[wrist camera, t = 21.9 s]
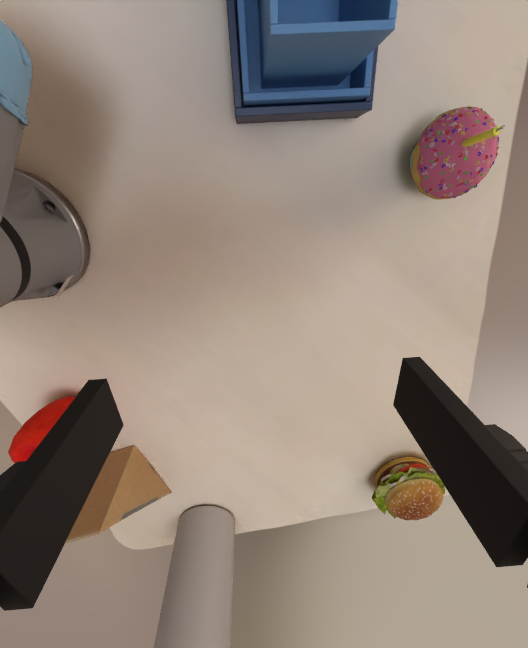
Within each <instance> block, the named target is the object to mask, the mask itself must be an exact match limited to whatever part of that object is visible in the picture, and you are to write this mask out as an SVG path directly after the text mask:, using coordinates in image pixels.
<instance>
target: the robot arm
mask: <svg viewBox="0 0 528 648" xmlns="http://www.w3.org/2000/svg"><path fill="white" fill-rule="evenodd" d="M32 76H33V68H32V62H31V59H30V56H29V54H28V51H27V50H26V48H25V46H24V44H23V43H22V41H21V40H20V39H19V37H18V36H17V35H16V34H15V33H14V32H13V30H12V29H10V28H9V27H8V26H7V25H6V24H5V23H4V22H3V21H1V20H0V307H2V306H4V305H5V304H7V303H9V302H11V301H15V300H25V299H34V298H44V297H50V296H53V295H56V294H57V295H56V296H55V298H56V297H58V296H59V295H61V294H62V292H63V291H64V290H66V289H68V288H69V287H71V286H72V285H74V284H75V283H76V282H77V281H78V280H79V279H80V278H81V277H82V275H83V274H84V272H85V270H86V268H87V265H88V261H89V249H90V248H89V241H88V236H87V233H86V230H85V227H84V224H83V222H82V220H81V218H80V217H79V215H78V213H77V212H76V210H75V209H74V208H73V206H72V205H71V204H70V202H69V201H68V200H67V199H66V198H65V197H64V196H63V195H62V194H61V193H60V192H59V191H58V190H57V189H55V188H54V187H53V186H51V185H50V184H49V183H47V182H46V181H44V180H42V179H41V178H39V177H37V176H35V175H33V174H31V173H28V172H25V171H23V170H19V169H15V168H14V167H15V163H16V159H17V155H18V150H19V146H20V142H21V138H22V134H23V130H24V126H25V125H26V126H28V122H29V121H28V117H27V115H26V111H27V105H28V99H29V94H30V88H31V82H32ZM55 298H54V299H55ZM393 405H394V407H395V408H396V410H397V412H398V413H399V415H400V416H401V418H402V419H403V421H404V423H405V424H406V426H407V427H408V429H409V430H410V432H411V434H412V435H413V437H414V438H415V440H416V441H417V443H418V445H419V446H420V448H421V449H422V451H423V452H424V454H425V456H426V457H427V459H428V460H429V462H430V463H431V465H432V467H433V468H434V470H435V471H436V473H437V474H438V476H439V478H440V479H441V481H442V482H443V484H444V485H445V487H446V489H447V490H448V492H449V493H450V495H451V496H452V498H453V500H454V501H455V503H456V504H457V506H458V507H459V509H460V511H461V512H462V514H463V515H464V517H465V518H466V520H467V522H468V523H469V525H470V526H471V528H472V529H473V531H474V533H475V534H476V536H477V537H478V539H479V540H480V542H481V543H482V545H483V547H484V548H485V549H486V551H487V553H488V555H489V556H490V558H491V559H492V561H493V562H494V564H495V566H496V567H503V566H515V565H523V563H524V562H525V561H526V559H527V558H528V452H527V451H526V449H525V448H524V447H523V446H522V445H521V444H520V443H519V442H518V441H517V440H516V439H515V438H514V437H513V436H512V435H511V434H509V433H508V432H506V431H504V430H503V429H501V428H500V427H498V426H497V425H495V424H494V425H484V424H483V423H482V422H481V421H480V420H479V419H478V418H477V417H476V416H475V415H474V414H473V412H471V410H470V409H469V408H468V407H467V406H466V405H465V404H464V403H463V402H462V401H461V400H460V399H459V398H458V397H457V396H456V395H455V394H454V392H453V391H452V390H451V389H450V388H449V387H448V386H447V385H446V384H445V383H444V382H443V381H442V380H441V379H440V378H439V377H438V376H437V375H436V374H435V372H434V371H433V370H432V369H431V368H430V367H429V366H428V365H427V364H426V363H425V362H424V361H423V360H422V359H421V358H420V357H412V358H403V360H402V365H401V370H400V375H399V380H398V384H397V389H396V394H395V399H394V404H393ZM122 427H123V422H122V420H121V417H120V414H119V411H118V409H117V406H116V403H115V401H114V398H113V395H112V392H111V390H110V387H109V384H108V382H107V379H97V380H88V382H87V383H86V384H85V386H84V387H83V388H82V389H81V391H80V392H79V393H78V395H77V396H76V397H75V398H74V400H73V401H72V402H71V404H70V405H69V406H68V408H67V409H66V410H65V411H64V413H63V414H62V415H61V417H60V418H59V419H58V420H57V422H56V423H55V424H54V426H53V427H52V428H51V430H50V431H49V432H48V433H47V435H46V436H45V437H44V439H43V440H42V441H41V442H40V444H39V445H38V446H37V448H36V449H35V450H34V451H33V453H32V454H31V455H30V457H29V458H28V459H27V461H19V462H16V463H15V464H14V465H13V466H11V467H10V468H9V469H8V470H6V471H5V472H4V473H3V474H1V475H0V607H2V609H3V610H16V609H28V608H33V606H34V604H35V602H36V600H37V598H38V596H39V594H40V592H41V590H42V588H43V586H44V584H45V582H46V580H47V578H48V576H49V574H50V572H51V570H52V568H53V566H54V564H55V562H56V560H57V558H58V556H59V554H60V552H61V550H62V548H63V546H64V544H65V542H66V540H67V538H68V536H69V534H70V532H71V530H72V528H73V526H74V524H75V522H76V520H77V518H78V516H79V514H80V512H81V510H82V508H83V506H84V504H85V502H86V500H87V497H88V495H89V493H90V491H91V489H92V487H93V485H94V483H95V481H96V479H97V477H98V475H99V473H100V471H101V469H102V467H103V465H104V463H105V461H106V459H107V457H108V455H109V453H110V451H111V449H112V447H113V445H114V443H115V441H116V439H117V437H118V435H119V433H120V431H121V429H122ZM527 588H528V585H527Z"/></svg>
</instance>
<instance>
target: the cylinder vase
mask: <svg viewBox="0 0 528 648" xmlns="http://www.w3.org/2000/svg"><path fill="white" fill-rule="evenodd" d="M234 529H235V522H234V518H233V516H232V515H231V514H230V513H229V512H228V511H226V510H225V509H223V508H220V507H216V506H198V507H194V508H191V509H189V510H188V511H186V512H185V513H184V514H183V515H182V516H181V517H180V519H179V522H178V527H177V532H176V537H175V542H174V548H173V552H172V557H171V562H170V568H169V573H168V578H167V583H166V588H165V594H164V598H163V603H162V608H161V613H160V618H159V624H158V629H157V633H156V639H155V644H154V648H230V639H231V611H232V585H233V555H234Z"/></svg>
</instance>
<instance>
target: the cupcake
mask: <svg viewBox="0 0 528 648" xmlns="http://www.w3.org/2000/svg"><path fill="white" fill-rule="evenodd" d="M503 128H504V125H503V126H502V127H499V126H496V125H495V123H494V120H493V119H492V118H491V117H490V116H489V115H488V114H487V113H486V111H483V110H482V108H481V109H479V108H476V107H461V108H456V109H453V110H450V111H447V112H445V113H443V114H441V115H439V116H438V117H437V118H436V119H435V120H434V121H433V122H432V123H431V124H430V125H429V126H428V127H427V128H426V129H425V130H424V131H423V133H422V135H421V137H420V139H419V141H418V143H417V145H416V146H415V148H414V149H413V151H412V154H411V157H410V169H411V174H412V177H413V179H414V182H415V183H416V185H417V187H418V189H419V191H420V192H421V193H423V194H425V195H427V196H429V197H431V198H433V199H450V198H455V197H457V196H460V195H463V194H464V193H466V192H468V191H469V190H470V189H472V188H473V187H474V186H476V187H477V184H478V183H479V182H480V181H481V180H482V179H483V178H484V177H485V176H486V175H487V173H488V171H489V170H490V168H491V167H492V165H493V163H494V161H495V159H496V156H497V154H498V153H497V150H498V148H499V147H498V144H499V143H498V142H499V137H498V134H499V133H500V132H501V129H503ZM474 188H475V187H474Z"/></svg>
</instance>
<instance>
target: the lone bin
mask: <svg viewBox="0 0 528 648" xmlns="http://www.w3.org/2000/svg"><path fill="white" fill-rule="evenodd" d="M397 6H398V0H258V16H259V40H260V64H261V88H262V89H269V88H290V87H312V86H333V85H339V84H340V83H341V82H342V81H343V80H344V79H345V78H346V77H347V76H348V75H349V74H350V73H351V72H352V71H353V70H354V69H355V68H356V67H357V66H358V65H359V64H360V63H361V62H362V61H363V60H364V59H365V58H366V57H367V56H368V55H369V54H370V53H371V52H372V51H373V50H374V49H375V48H376V47H377V46H378V45H379V44H380V43H381V42H382V41H383V40H384V39H385V38H386V37H387V36H388V35H389V34H390V33H391V32H392V31H393V30H394V29H395V23H396V14H397Z"/></svg>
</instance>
